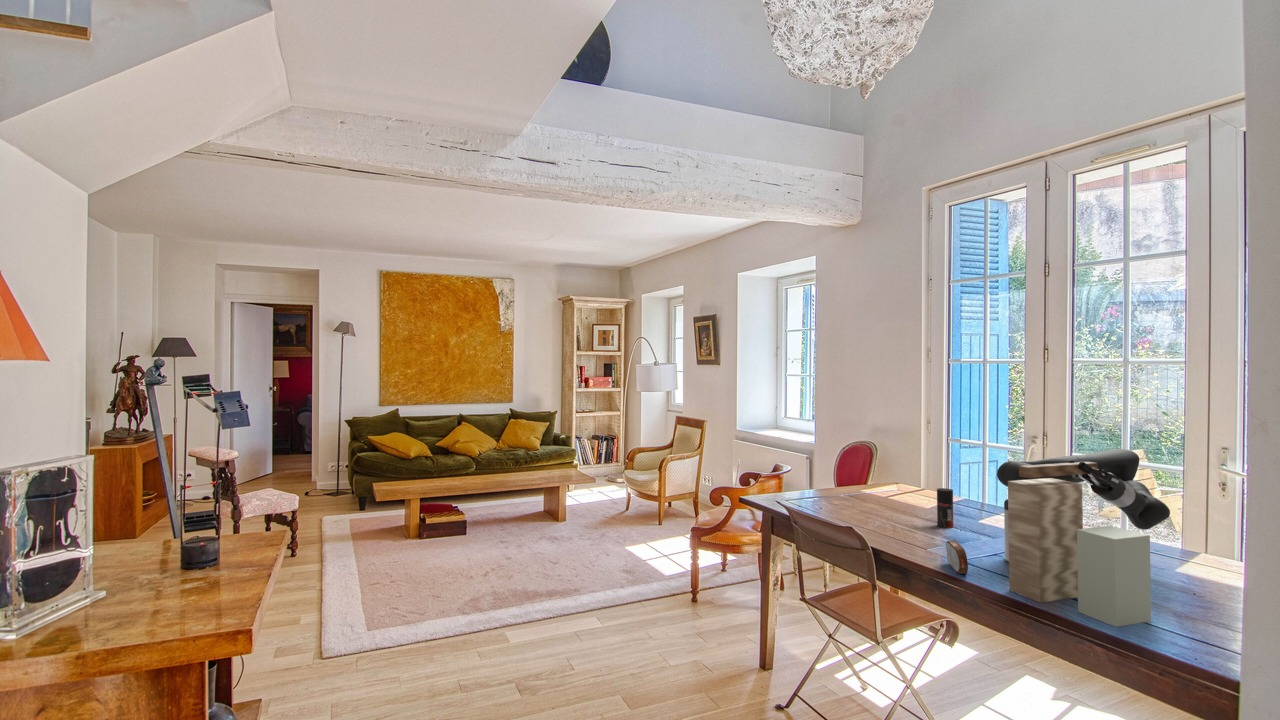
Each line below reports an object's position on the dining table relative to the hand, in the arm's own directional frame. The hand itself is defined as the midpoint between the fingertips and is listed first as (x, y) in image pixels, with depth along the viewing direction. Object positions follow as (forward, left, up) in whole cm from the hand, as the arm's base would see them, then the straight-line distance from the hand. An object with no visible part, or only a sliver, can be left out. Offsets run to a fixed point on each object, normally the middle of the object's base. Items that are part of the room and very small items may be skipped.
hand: (1074, 463), depth 183 cm
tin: (+20, -25, -37) cm, 49 cm away
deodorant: (-16, -70, -37) cm, 81 cm away
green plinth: (+10, +18, -37) cm, 42 cm away
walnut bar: (+6, 0, -3) cm, 7 cm away
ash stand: (+12, 0, -37) cm, 39 cm away
